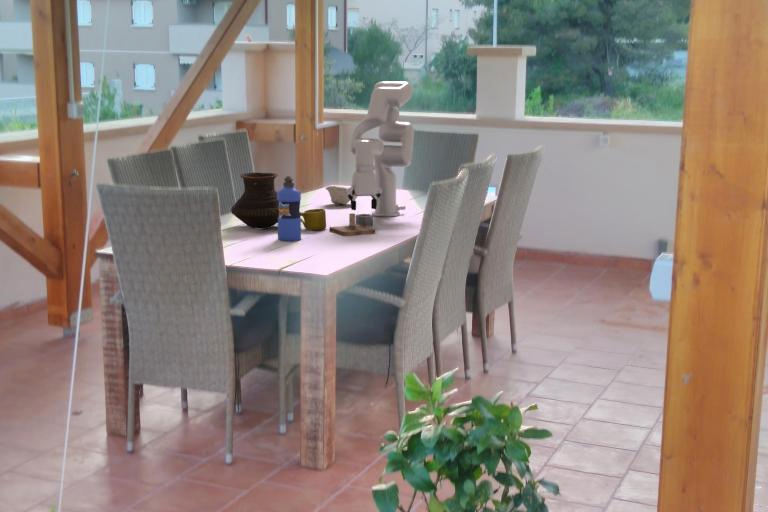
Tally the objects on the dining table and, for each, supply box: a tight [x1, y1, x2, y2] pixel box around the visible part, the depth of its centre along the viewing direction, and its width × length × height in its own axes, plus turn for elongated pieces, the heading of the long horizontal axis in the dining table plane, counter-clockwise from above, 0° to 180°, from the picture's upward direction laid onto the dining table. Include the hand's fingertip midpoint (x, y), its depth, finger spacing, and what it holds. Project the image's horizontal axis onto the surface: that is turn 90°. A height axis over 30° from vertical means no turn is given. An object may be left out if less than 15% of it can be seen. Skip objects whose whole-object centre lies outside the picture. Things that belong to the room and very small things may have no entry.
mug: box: [300, 208, 327, 232], centre depth 436 cm, size 12×10×10 cm
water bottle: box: [276, 175, 302, 243], centre depth 410 cm, size 9×9×25 cm
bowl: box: [325, 185, 352, 206], centre depth 503 cm, size 15×14×10 cm
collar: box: [355, 213, 374, 228], centre depth 445 cm, size 7×7×4 cm
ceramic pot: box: [230, 171, 279, 229], centre depth 438 cm, size 24×24×22 cm
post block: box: [329, 213, 376, 237], centre depth 429 cm, size 14×14×8 cm
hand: (363, 209), depth 444 cm, fingers open, 9 cm apart
